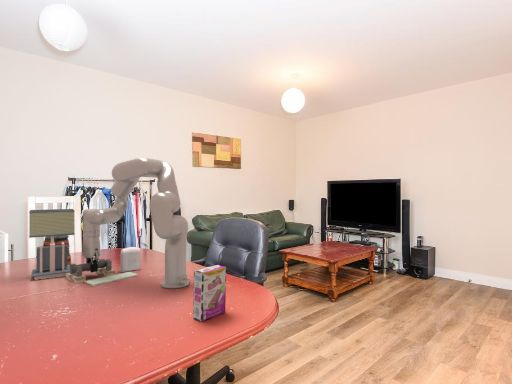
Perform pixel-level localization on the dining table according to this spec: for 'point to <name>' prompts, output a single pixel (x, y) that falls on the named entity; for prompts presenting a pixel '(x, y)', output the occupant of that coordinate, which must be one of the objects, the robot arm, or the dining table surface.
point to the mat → (110, 278)
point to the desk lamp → (52, 256)
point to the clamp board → (80, 278)
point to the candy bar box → (209, 292)
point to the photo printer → (130, 259)
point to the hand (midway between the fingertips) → (92, 270)
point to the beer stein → (58, 241)
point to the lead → (87, 265)
